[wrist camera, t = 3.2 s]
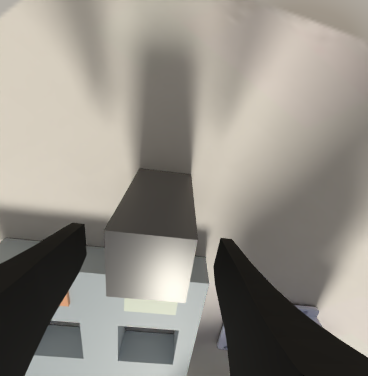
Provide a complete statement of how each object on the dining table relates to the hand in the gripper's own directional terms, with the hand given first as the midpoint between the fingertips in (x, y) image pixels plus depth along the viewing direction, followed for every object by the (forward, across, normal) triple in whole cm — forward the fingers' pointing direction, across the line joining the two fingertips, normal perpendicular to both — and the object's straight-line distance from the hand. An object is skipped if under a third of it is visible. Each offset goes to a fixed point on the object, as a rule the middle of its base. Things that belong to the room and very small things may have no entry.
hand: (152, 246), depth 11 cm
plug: (+6, 0, 0) cm, 6 cm away
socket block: (+6, +4, +14) cm, 16 cm away
